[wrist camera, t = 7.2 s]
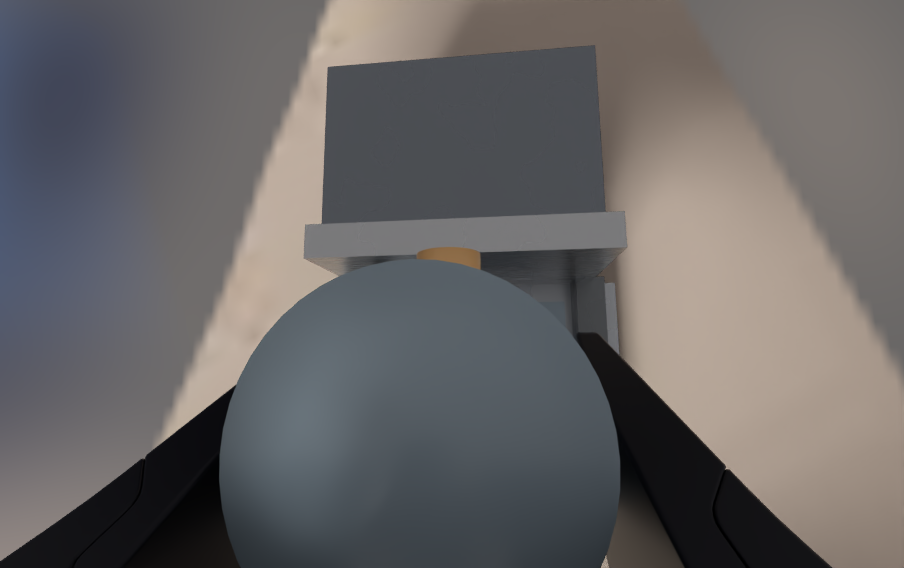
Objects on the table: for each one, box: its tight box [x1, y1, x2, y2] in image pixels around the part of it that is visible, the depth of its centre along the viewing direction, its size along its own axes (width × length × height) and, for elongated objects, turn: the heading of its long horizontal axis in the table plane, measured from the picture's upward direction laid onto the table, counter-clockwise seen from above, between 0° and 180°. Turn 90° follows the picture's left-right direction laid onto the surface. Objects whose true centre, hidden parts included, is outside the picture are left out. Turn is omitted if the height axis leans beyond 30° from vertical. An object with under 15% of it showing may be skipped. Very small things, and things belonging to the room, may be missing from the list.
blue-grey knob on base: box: [219, 247, 620, 568], centre depth 11 cm, size 6×6×10 cm
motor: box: [304, 45, 627, 354], centre depth 16 cm, size 15×11×7 cm
